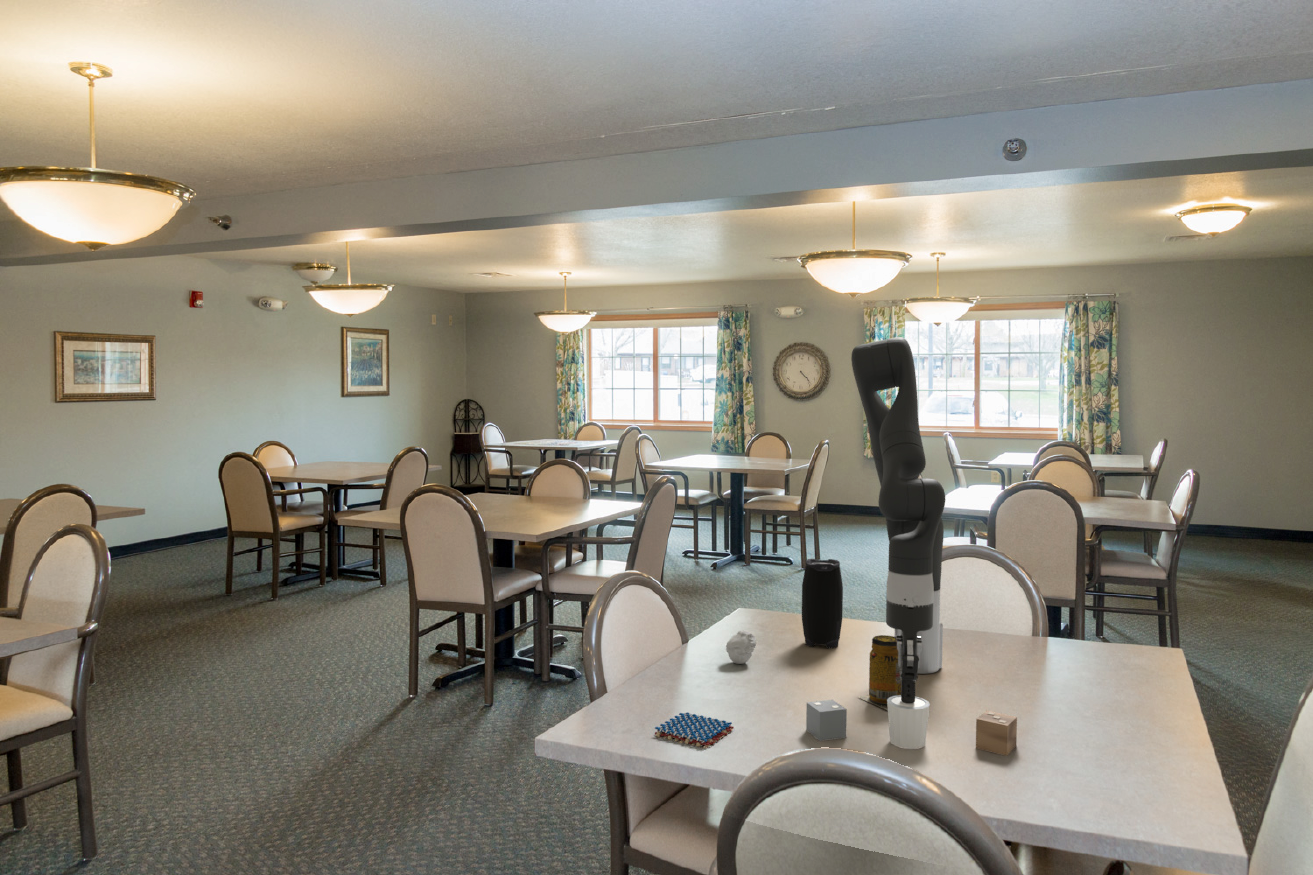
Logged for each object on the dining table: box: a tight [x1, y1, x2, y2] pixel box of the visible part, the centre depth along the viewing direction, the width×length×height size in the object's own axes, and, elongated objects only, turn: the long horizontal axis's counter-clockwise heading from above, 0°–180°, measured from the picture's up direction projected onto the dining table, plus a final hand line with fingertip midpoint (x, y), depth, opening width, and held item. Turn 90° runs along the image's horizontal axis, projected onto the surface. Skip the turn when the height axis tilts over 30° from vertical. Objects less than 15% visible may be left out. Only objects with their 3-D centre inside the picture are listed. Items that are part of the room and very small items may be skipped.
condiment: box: [858, 634, 901, 711], centre depth 170 cm, size 7×8×12 cm
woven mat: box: [654, 712, 734, 749], centre depth 154 cm, size 10×11×2 cm
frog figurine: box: [725, 629, 757, 665], centre depth 194 cm, size 6×7×7 cm
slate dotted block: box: [805, 699, 848, 742], centre depth 154 cm, size 5×5×5 cm
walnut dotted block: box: [975, 710, 1018, 757], centre depth 148 cm, size 5×5×5 cm
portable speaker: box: [801, 558, 844, 649], centre depth 209 cm, size 9×9×20 cm
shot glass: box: [887, 695, 931, 750], centre depth 150 cm, size 7×7×7 cm
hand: (907, 701), depth 150 cm, fingers closed
